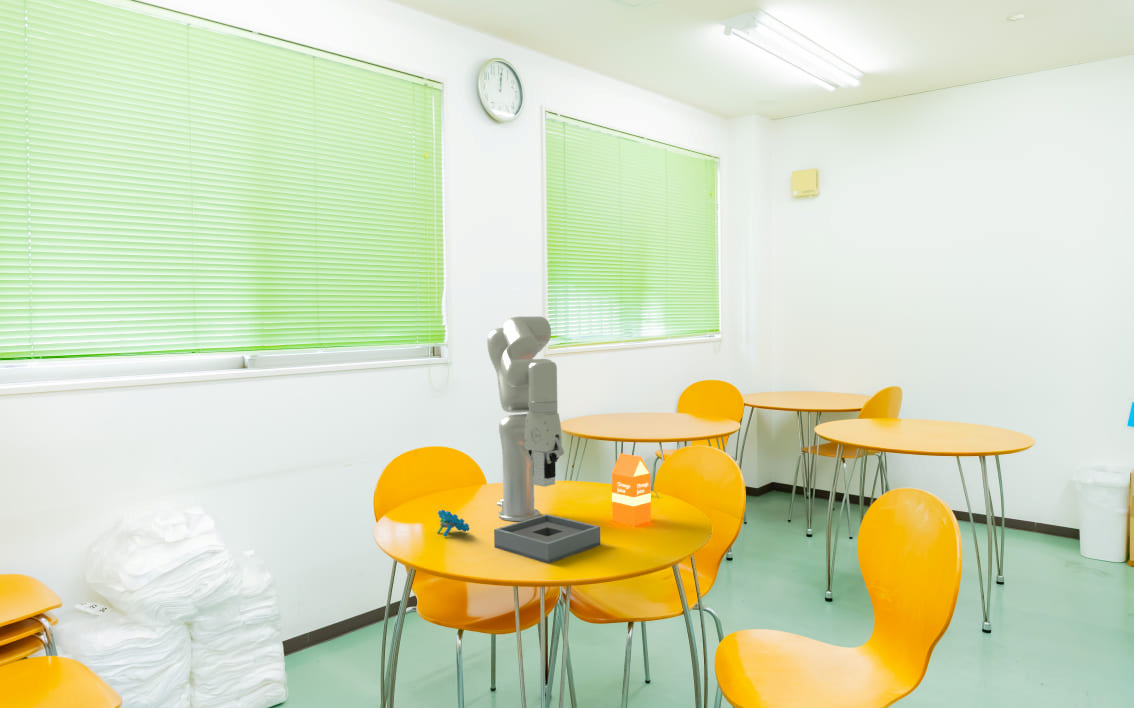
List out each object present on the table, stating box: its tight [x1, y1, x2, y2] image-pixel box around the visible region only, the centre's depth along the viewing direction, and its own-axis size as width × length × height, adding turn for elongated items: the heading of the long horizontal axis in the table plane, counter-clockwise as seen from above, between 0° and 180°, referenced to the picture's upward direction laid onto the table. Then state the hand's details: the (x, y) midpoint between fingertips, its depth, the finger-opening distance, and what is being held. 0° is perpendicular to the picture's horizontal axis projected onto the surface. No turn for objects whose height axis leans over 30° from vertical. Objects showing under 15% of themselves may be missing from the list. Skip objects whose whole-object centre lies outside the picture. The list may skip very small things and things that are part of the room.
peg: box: [533, 450, 556, 488], centre depth 188 cm, size 4×4×9 cm
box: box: [493, 513, 601, 565], centre depth 189 cm, size 20×20×5 cm
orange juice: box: [611, 453, 652, 527], centre depth 212 cm, size 8×9×20 cm
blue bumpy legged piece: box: [436, 509, 471, 538], centre depth 200 cm, size 11×6×10 cm
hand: (544, 475), depth 188 cm, fingers closed on peg, 4 cm apart
